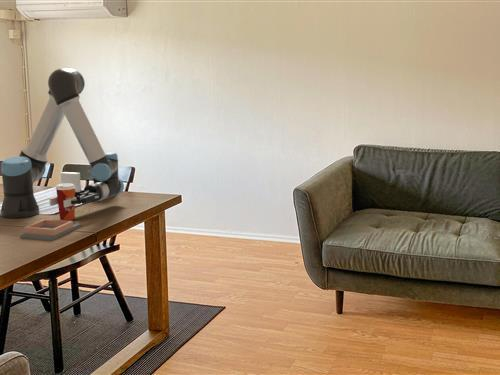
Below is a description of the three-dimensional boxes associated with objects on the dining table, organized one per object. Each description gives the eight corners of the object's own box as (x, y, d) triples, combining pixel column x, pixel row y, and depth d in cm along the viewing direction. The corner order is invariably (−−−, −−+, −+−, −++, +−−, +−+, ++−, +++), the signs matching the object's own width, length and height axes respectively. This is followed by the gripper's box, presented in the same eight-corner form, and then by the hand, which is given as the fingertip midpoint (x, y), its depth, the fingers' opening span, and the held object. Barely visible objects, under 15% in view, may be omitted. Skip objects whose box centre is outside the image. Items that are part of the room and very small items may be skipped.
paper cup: (71, 221, 243) (69, 187, 240) (53, 220, 245) (51, 186, 242) (80, 216, 251) (78, 183, 248) (63, 215, 252) (61, 182, 249)
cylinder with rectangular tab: (57, 199, 285) (56, 174, 283) (68, 195, 294) (67, 170, 291) (74, 200, 283) (73, 175, 280) (85, 196, 291) (83, 171, 289)
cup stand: (20, 237, 223) (19, 228, 222) (52, 224, 242) (51, 215, 241) (51, 240, 219) (50, 231, 219) (81, 226, 238) (80, 217, 238)
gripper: (114, 203, 258) (77, 215, 238) (78, 198, 267) (39, 209, 247) (113, 185, 257) (76, 196, 237) (77, 181, 265) (38, 191, 245)
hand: (57, 203), depth 242 cm, fingers closed on paper cup, 7 cm apart
